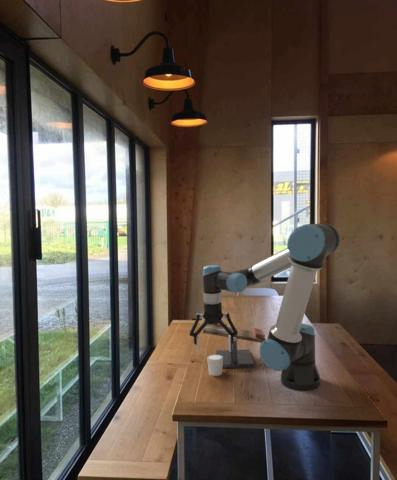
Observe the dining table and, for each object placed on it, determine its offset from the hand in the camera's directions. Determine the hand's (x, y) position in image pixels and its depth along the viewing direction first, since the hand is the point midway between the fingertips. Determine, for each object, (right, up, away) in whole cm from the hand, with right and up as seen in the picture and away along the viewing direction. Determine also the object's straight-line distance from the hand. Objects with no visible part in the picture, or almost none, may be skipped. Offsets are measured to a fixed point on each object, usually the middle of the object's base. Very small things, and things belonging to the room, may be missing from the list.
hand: (214, 351), depth 167 cm
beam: (+9, +3, +14) cm, 16 cm away
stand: (+10, -8, +14) cm, 19 cm away
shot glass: (+1, -10, 0) cm, 10 cm away
